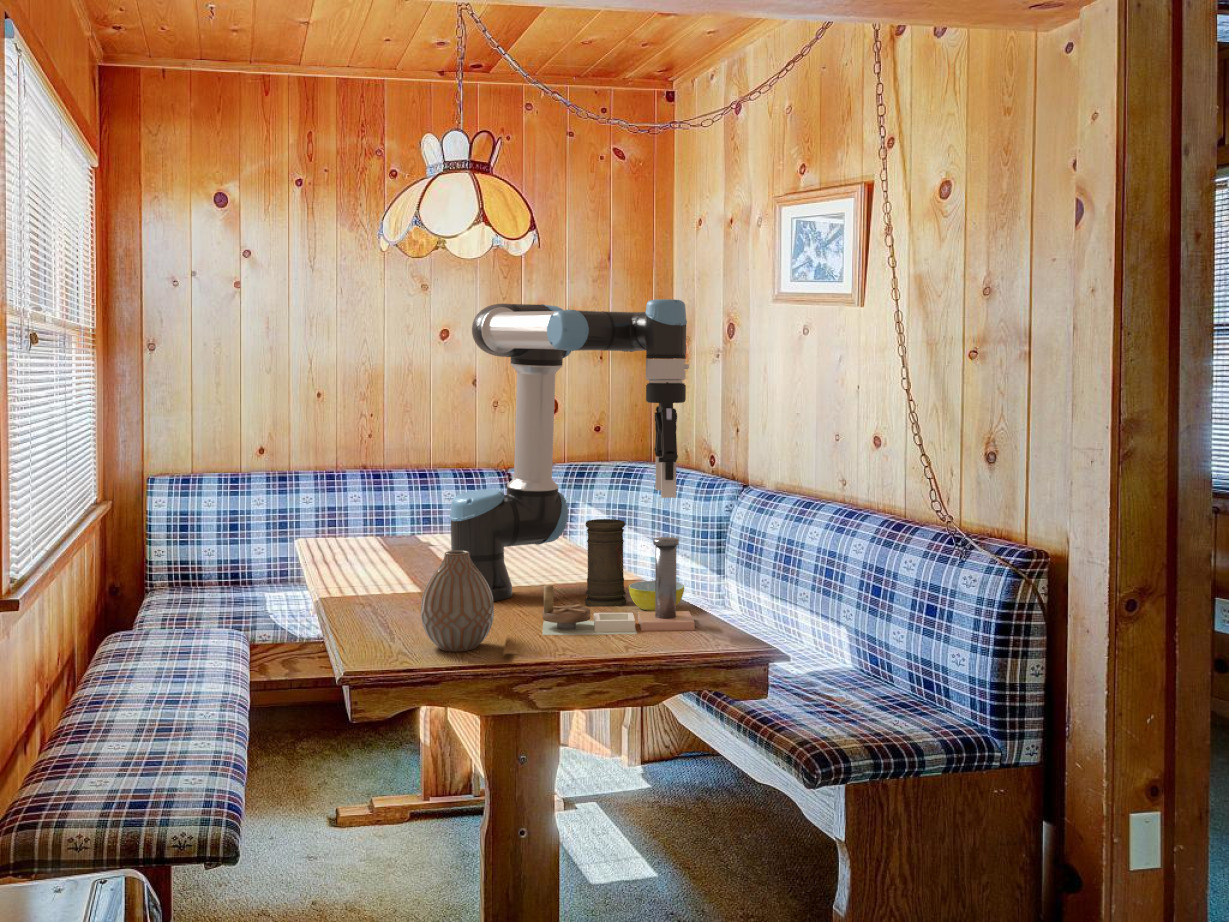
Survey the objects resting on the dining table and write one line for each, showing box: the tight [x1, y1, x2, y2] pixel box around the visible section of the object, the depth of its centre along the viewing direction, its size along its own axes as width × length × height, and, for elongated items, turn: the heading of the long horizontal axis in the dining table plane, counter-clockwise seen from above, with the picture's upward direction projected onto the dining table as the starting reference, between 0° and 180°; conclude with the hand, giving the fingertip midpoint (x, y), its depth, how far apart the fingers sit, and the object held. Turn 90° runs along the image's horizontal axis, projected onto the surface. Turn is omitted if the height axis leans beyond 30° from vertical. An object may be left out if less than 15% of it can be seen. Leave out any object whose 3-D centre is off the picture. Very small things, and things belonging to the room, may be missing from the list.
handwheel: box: [542, 584, 591, 623], centre depth 226 cm, size 9×9×6 cm
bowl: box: [628, 580, 685, 612], centre depth 245 cm, size 11×12×6 cm
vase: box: [420, 550, 495, 653], centre depth 216 cm, size 13×13×18 cm
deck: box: [541, 612, 638, 636], centre depth 226 cm, size 18×12×4 cm
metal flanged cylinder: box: [652, 536, 680, 619], centre depth 228 cm, size 5×5×15 cm
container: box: [584, 518, 627, 608], centre depth 256 cm, size 9×9×18 cm
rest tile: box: [637, 610, 695, 632], centre depth 229 cm, size 10×10×3 cm
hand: (665, 493), depth 227 cm, fingers open, 13 cm apart
